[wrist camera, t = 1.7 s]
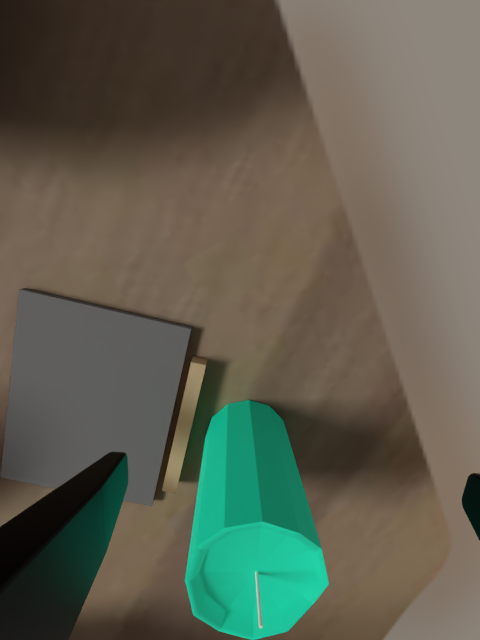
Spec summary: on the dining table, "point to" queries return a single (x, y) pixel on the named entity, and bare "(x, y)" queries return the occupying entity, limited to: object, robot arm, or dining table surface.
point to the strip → (184, 423)
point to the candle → (252, 528)
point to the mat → (90, 391)
